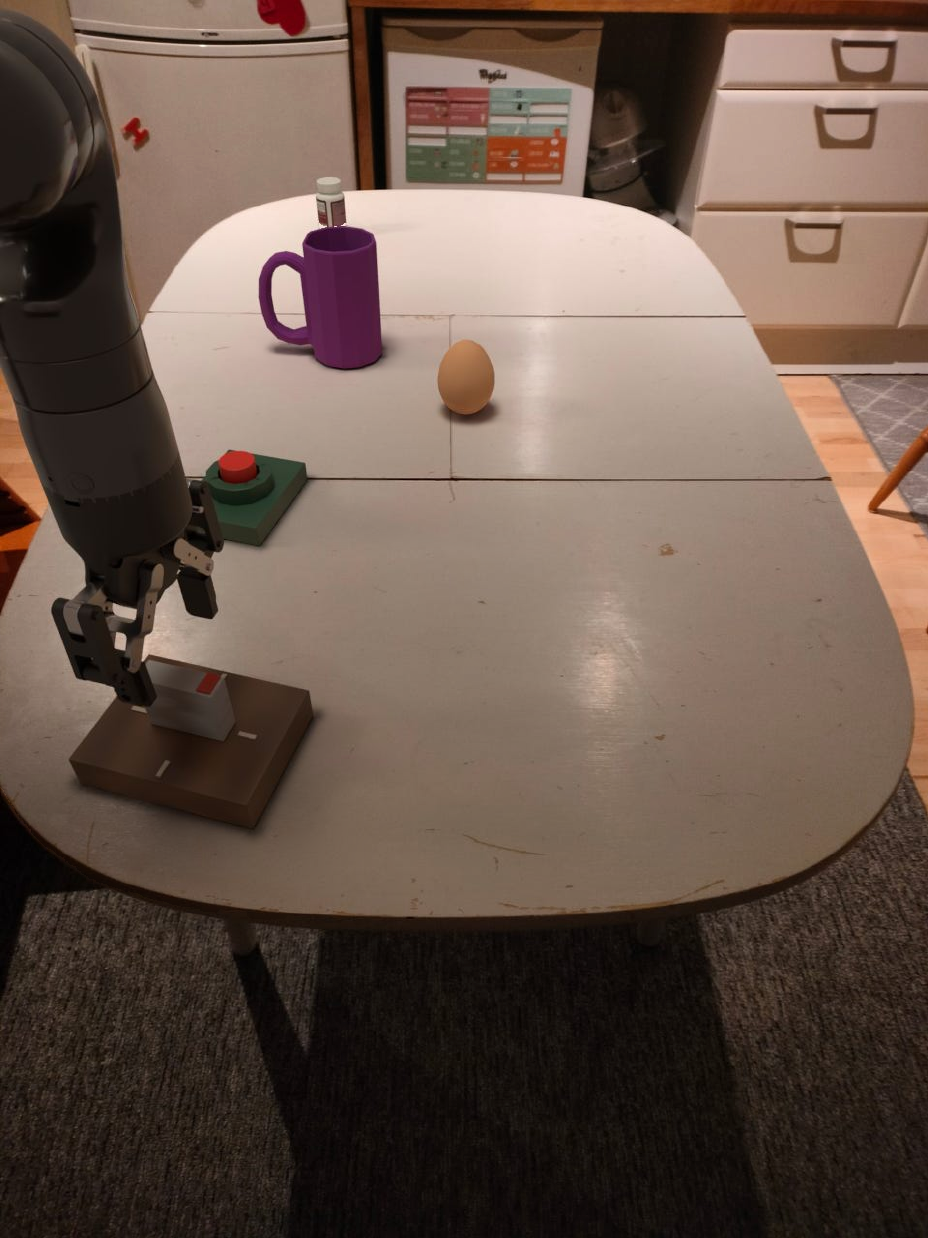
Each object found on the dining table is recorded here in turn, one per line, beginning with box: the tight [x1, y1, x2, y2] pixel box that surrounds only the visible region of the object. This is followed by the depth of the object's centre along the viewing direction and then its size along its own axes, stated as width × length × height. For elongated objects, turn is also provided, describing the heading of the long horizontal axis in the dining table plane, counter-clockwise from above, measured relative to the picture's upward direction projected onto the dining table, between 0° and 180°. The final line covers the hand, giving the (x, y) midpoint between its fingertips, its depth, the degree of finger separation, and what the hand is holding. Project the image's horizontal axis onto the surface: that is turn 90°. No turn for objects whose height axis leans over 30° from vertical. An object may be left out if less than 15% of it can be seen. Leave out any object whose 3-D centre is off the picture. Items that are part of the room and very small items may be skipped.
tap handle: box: [144, 660, 236, 741], centre depth 61 cm, size 6×2×5 cm, turn 74°
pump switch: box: [197, 449, 308, 546], centre depth 87 cm, size 12×9×4 cm
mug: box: [258, 225, 383, 370], centre depth 108 cm, size 9×16×15 cm, turn 87°
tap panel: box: [68, 653, 314, 830], centre depth 64 cm, size 14×11×3 cm
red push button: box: [218, 450, 257, 484], centre depth 85 cm, size 4×4×2 cm
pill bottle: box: [315, 176, 347, 227], centre depth 142 cm, size 5×5×8 cm
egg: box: [436, 339, 495, 415], centre depth 100 cm, size 7×7×9 cm
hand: (173, 655), depth 58 cm, fingers open, 8 cm apart
